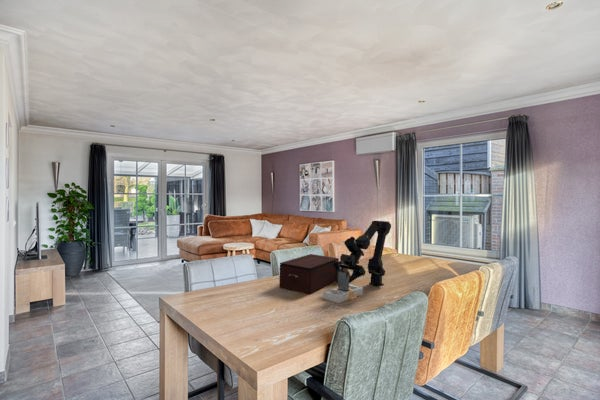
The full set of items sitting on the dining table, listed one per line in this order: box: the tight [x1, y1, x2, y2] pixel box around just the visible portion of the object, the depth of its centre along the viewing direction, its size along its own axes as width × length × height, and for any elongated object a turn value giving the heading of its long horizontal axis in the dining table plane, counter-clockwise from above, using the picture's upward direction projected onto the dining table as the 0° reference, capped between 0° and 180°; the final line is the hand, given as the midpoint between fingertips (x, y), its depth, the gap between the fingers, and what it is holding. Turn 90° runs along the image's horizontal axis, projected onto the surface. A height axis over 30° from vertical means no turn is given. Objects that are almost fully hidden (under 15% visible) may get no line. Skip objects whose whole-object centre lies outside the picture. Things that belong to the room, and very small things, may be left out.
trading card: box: [313, 305, 353, 324], centre depth 149 cm, size 11×1×18 cm
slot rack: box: [322, 283, 364, 304], centre depth 174 cm, size 22×12×4 cm, turn 135°
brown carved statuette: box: [336, 255, 352, 283], centre depth 204 cm, size 12×6×18 cm, turn 133°
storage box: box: [278, 253, 340, 295], centre depth 196 cm, size 39×23×15 cm, turn 147°
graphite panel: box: [337, 271, 350, 292], centre depth 174 cm, size 3×5×13 cm, turn 45°
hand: (341, 280), depth 173 cm, fingers open, 9 cm apart
